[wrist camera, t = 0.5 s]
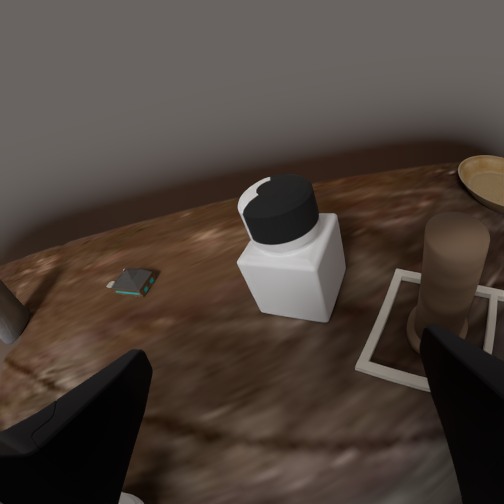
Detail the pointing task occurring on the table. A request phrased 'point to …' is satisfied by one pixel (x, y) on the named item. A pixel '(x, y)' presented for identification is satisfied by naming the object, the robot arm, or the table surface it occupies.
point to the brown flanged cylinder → (448, 274)
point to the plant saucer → (484, 180)
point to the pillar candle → (11, 315)
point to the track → (377, 330)
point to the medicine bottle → (291, 249)
